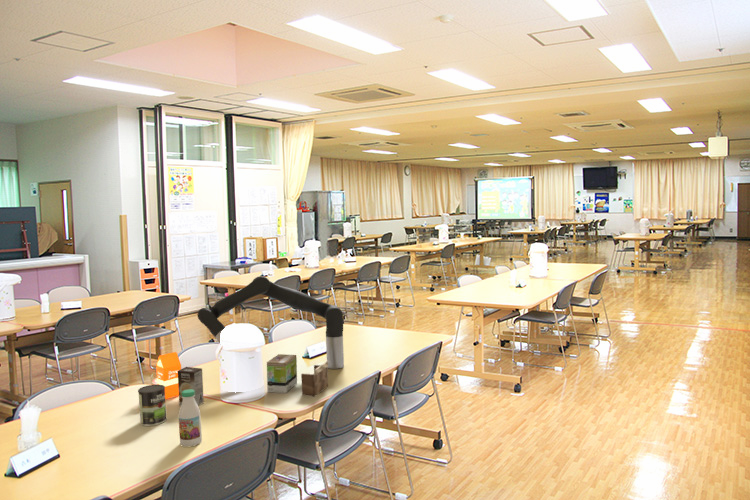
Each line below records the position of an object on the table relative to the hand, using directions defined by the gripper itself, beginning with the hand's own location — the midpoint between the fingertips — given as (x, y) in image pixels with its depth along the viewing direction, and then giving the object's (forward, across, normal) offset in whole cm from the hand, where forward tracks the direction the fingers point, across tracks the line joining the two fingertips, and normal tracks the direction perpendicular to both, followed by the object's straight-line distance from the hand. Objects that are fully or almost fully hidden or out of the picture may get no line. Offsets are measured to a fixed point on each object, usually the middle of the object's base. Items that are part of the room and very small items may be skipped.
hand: (249, 364), depth 268 cm
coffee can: (-4, -51, +18) cm, 54 cm away
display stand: (+32, 0, -17) cm, 36 cm away
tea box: (+20, 0, -5) cm, 21 cm away
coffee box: (-2, -30, +16) cm, 34 cm away
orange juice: (-14, -22, +28) cm, 39 cm away
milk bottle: (+17, -65, -3) cm, 68 cm away
